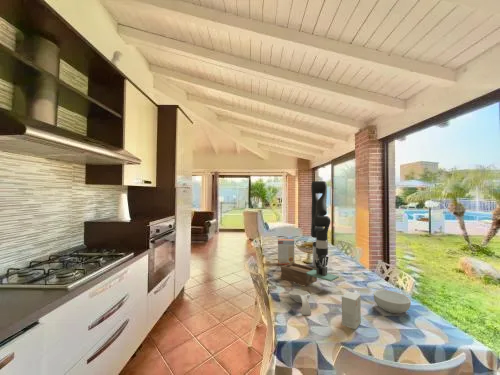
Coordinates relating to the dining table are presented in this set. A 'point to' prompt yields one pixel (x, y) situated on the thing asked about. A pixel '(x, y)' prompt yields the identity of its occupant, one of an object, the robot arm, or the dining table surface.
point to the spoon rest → (301, 300)
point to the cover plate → (329, 276)
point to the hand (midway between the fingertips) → (321, 273)
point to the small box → (351, 310)
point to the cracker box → (285, 251)
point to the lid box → (297, 274)
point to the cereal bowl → (392, 301)
